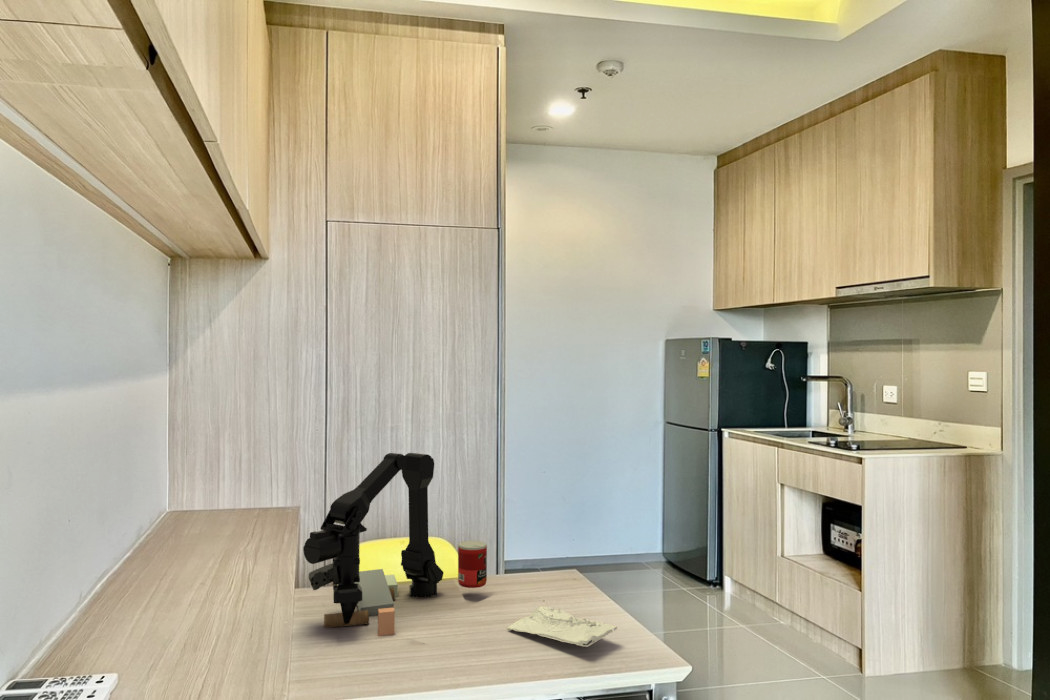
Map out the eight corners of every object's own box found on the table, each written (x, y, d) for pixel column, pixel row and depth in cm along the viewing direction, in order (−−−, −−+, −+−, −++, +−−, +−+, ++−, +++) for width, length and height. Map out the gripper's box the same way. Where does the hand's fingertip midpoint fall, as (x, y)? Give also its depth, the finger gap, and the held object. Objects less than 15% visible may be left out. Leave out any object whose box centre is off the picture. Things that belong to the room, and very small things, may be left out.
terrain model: (594, 654, 151) (594, 630, 151) (501, 634, 162) (501, 612, 162) (622, 628, 165) (622, 606, 165) (534, 611, 176) (535, 591, 176)
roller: (367, 621, 168) (367, 608, 168) (368, 625, 165) (368, 612, 165) (324, 625, 165) (324, 612, 165) (324, 630, 162) (324, 616, 162)
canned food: (482, 589, 191) (482, 548, 191) (454, 587, 193) (454, 546, 193) (489, 580, 199) (489, 541, 199) (462, 578, 200) (462, 539, 200)
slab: (382, 576, 188) (382, 568, 187) (393, 612, 174) (393, 603, 173) (351, 580, 185) (351, 572, 185) (360, 616, 171) (360, 607, 170)
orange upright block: (393, 630, 162) (393, 607, 162) (394, 634, 160) (394, 611, 160) (377, 631, 161) (378, 608, 161) (378, 635, 159) (378, 612, 159)
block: (394, 585, 194) (394, 574, 194) (397, 596, 185) (397, 584, 185) (352, 589, 191) (352, 577, 191) (354, 600, 182) (354, 588, 182)
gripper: (311, 545, 172) (310, 610, 172) (310, 567, 154) (309, 639, 154) (358, 542, 175) (358, 606, 175) (362, 563, 157) (362, 634, 157)
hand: (346, 620), depth 165 cm, fingers closed on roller, 3 cm apart
